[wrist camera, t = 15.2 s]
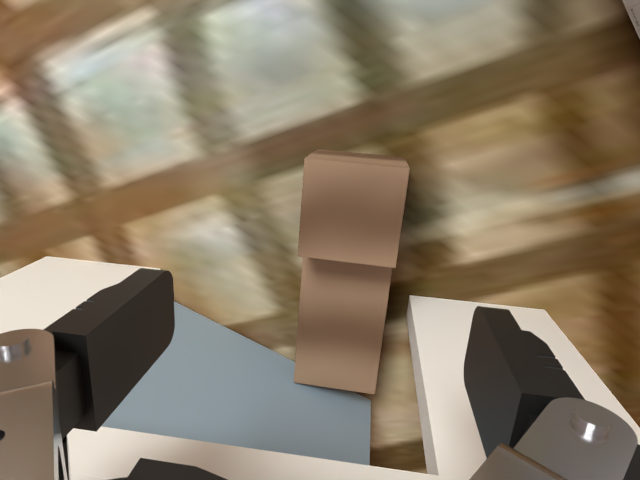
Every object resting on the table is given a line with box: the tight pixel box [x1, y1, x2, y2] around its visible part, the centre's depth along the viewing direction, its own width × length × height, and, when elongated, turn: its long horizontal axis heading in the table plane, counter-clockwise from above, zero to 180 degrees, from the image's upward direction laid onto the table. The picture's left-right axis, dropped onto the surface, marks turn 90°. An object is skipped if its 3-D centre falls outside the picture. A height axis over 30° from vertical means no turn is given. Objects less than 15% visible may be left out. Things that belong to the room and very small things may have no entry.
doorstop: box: [294, 149, 410, 394], centre depth 25 cm, size 14×5×4 cm, turn 175°
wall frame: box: [0, 256, 640, 480], centre depth 21 cm, size 2×32×16 cm, turn 86°
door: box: [102, 301, 371, 466], centre depth 24 cm, size 3×15×13 cm, turn 64°
